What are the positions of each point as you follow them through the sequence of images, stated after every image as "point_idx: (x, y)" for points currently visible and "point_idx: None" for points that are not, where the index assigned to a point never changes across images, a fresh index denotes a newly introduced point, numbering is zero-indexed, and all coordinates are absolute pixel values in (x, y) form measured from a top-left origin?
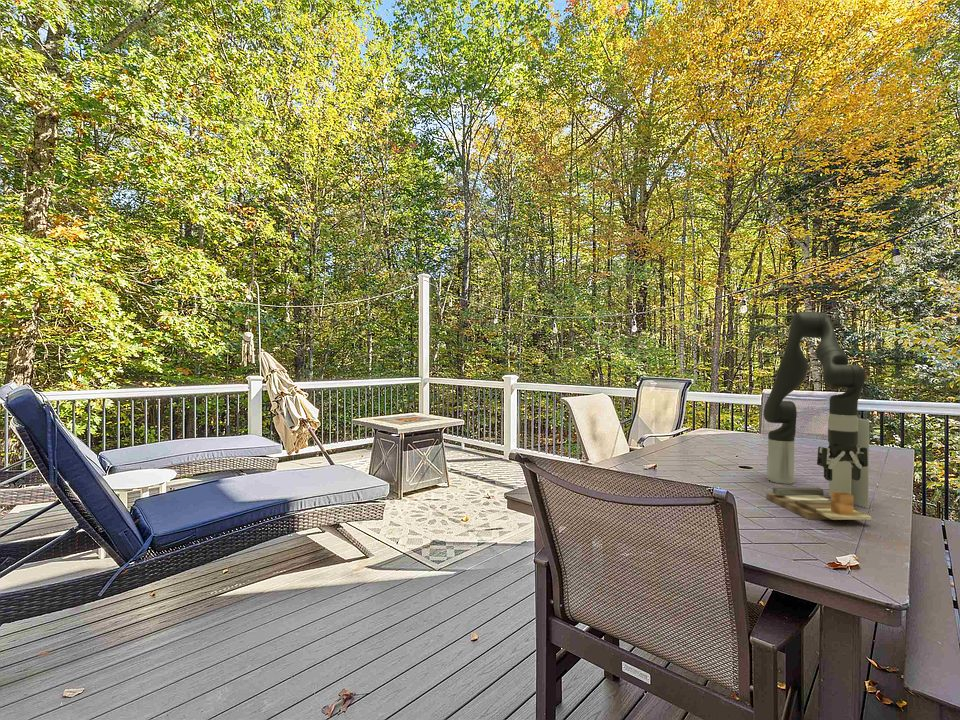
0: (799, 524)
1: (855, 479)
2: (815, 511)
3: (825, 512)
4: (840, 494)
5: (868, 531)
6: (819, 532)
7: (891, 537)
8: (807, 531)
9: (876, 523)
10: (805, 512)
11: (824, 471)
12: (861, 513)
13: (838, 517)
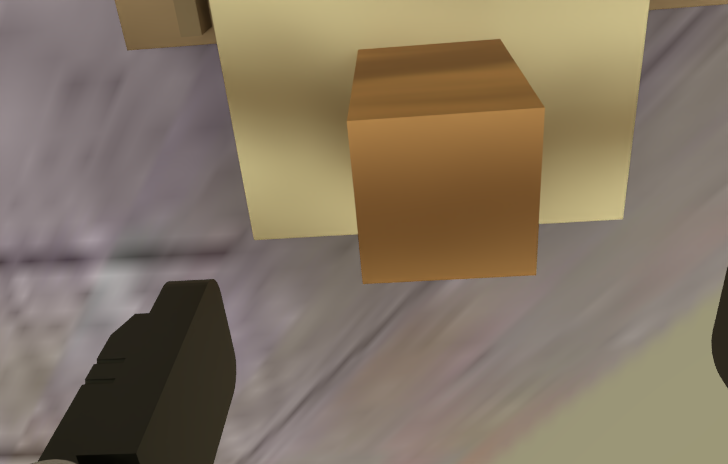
0: (22, 165)
1: (723, 333)
2: (205, 30)
3: (262, 115)
4: (387, 247)
5: (475, 282)
6: (107, 312)
7: (540, 371)
8: (31, 299)
9: (717, 105)
10: (117, 3)
11: (73, 429)
12: (614, 130)
13: (308, 233)
